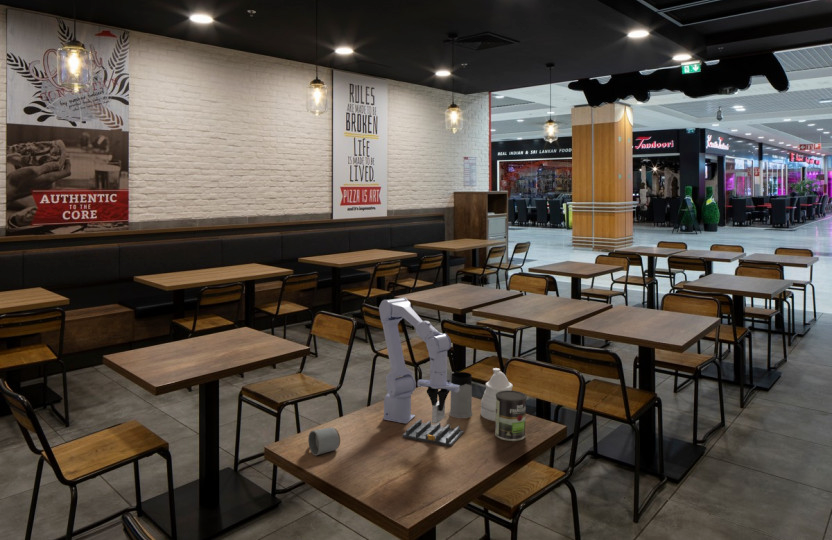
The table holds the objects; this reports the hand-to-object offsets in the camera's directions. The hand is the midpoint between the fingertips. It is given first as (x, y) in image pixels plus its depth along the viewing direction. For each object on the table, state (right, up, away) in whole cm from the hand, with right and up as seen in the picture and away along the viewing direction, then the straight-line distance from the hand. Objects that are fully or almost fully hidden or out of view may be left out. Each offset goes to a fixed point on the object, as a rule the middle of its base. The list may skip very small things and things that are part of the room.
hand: (438, 409), depth 194 cm
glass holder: (+8, -7, +24) cm, 26 cm away
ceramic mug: (-37, -11, -10) cm, 40 cm away
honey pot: (+23, -7, +21) cm, 32 cm away
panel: (0, -4, +1) cm, 4 cm away
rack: (-2, -9, +2) cm, 10 cm away
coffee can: (+25, -10, +3) cm, 27 cm away
